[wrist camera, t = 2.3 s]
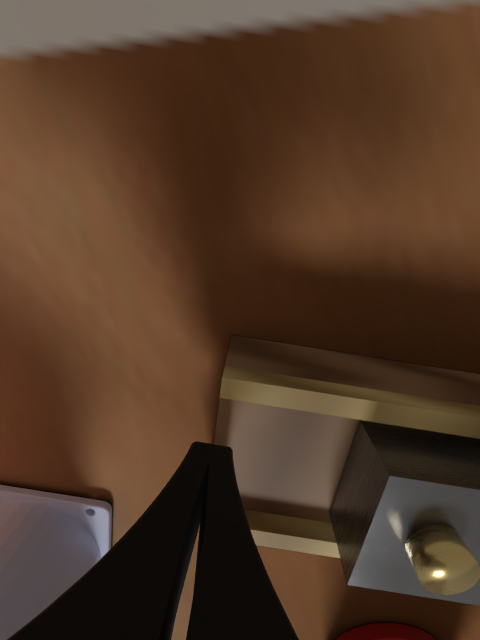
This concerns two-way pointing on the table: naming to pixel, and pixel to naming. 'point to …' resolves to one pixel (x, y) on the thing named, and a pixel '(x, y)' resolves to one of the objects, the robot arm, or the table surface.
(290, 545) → the wooden channel tray
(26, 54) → the table surface
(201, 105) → the table surface
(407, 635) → the canned food
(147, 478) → the table surface
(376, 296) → the table surface
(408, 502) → the grey block with knob
